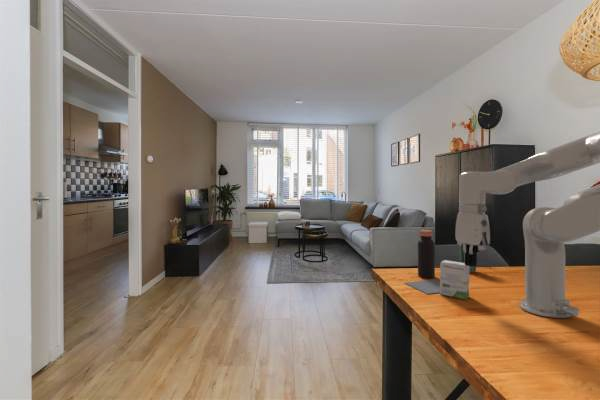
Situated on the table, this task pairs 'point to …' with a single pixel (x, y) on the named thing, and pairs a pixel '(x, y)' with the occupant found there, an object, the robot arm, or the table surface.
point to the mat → (426, 286)
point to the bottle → (426, 255)
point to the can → (462, 260)
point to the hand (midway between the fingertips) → (470, 265)
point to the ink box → (454, 279)
